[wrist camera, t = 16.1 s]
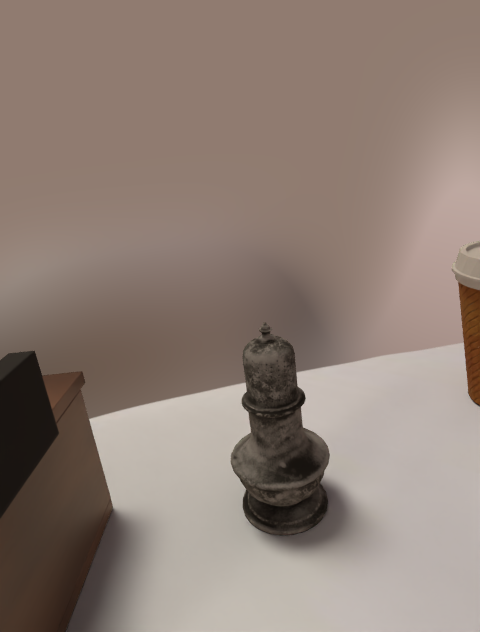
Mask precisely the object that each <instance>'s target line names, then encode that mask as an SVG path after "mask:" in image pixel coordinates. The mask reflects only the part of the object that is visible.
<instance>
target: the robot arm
mask: <svg viewBox="0 0 480 632" xmlns="http://www.w3.org/2000/svg"><path fill="white" fill-rule="evenodd" d="M58 435H59V431H58V427H57V424H56V421H55V417H54V414H53V411H52V407H51V404H50V401H49V397H48V394H47V391H46V387H45V384H44V380H43V377H42V374H41V371H40V367H39V364H38V360H37V357H36V354H35V351H29V352H19V353H10V354H7V355H6V356H5V357H4V358H2V359H1V360H0V519H1V517H2V516H3V514H4V513H5V511H6V510H7V508H8V507H9V506H10V504H11V503H12V501H13V500H14V498H15V497H16V495H17V494H18V492H19V491H20V490H21V488H22V487H23V485H24V484H25V482H26V481H27V479H28V478H29V477H30V475H31V474H32V472H33V471H34V469H35V468H36V466H37V465H38V464H39V462H40V461H41V459H42V458H43V456H44V455H45V453H46V452H47V451H48V449H49V448H50V446H51V445H52V443H53V442H54V440H55V439H56V438H57V436H58Z"/></svg>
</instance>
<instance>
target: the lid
mask: <svg viewBox="0 0 480 632" xmlns="http://www.w3.org/2000/svg"><path fill="white" fill-rule="evenodd" d="M42 377H43V380H44V384H45V387H46V391H47V394H48V397H49V401H50V404H51V407H52V411H53V414H54V417H55V421H56V422H57V421H58V419H59V418H60V417H61V415H62V414H63V412H64V411H65V410H66V408H67V407H68V406H69V404H70V403H71V402H72V400H73V399H74V397H75V396H76V395H77V393H78V392H79V391H80V389H81V388H82V386H83V385H84V383H85V380H84V376H83V373H82V372H71V373H62V374H53V375H44V376H42Z"/></svg>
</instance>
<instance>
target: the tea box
mask: <svg viewBox="0 0 480 632" xmlns="http://www.w3.org/2000/svg"><path fill="white" fill-rule="evenodd" d="M56 424H57V427H58V431H59V435H58V436H57V438H56V439H55V440H54V442H53V443H52V445H51V446H50V448H49V449H48V451H47V452H46V453H45V455H44V456H43V458H42V459H41V461H40V462H39V464H38V465H37V466H36V468H35V469H34V471H33V472H32V474H31V475H30V477H29V478H28V479H27V481H26V482H25V484H24V485H23V487H22V488H21V490H20V491H19V492H18V494H17V495H16V497H15V498H14V500H13V501H12V503H11V504H10V506H9V507H8V508H7V510H6V511H5V513H4V514H3V516H2V517H1V519H0V632H65V631H66V628H67V626H68V623H69V620H70V618H71V615H72V613H73V610H74V607H75V605H76V602H77V600H78V597H79V594H80V592H81V589H82V587H83V584H84V581H85V579H86V576H87V574H88V571H89V568H90V566H91V563H92V561H93V558H94V555H95V553H96V550H97V548H98V545H99V542H100V540H101V537H102V535H103V532H104V529H105V527H106V524H107V522H108V519H109V516H110V514H111V511H112V509H113V505H112V501H111V497H110V493H109V490H108V486H107V483H106V479H105V475H104V472H103V468H102V465H101V461H100V457H99V454H98V450H97V447H96V443H95V439H94V436H93V432H92V429H91V425H90V421H89V418H88V414H87V411H86V407H85V403H84V400H83V396H82V393H81V390H80V391H79V392H78V393H77V395H76V396H75V397H74V399H73V400H72V402H71V403H70V404H69V406H68V407H67V408H66V410H65V411H64V412H63V414H62V415H61V417H60V418H59V419H58V421H57V422H56Z"/></svg>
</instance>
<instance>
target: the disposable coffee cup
mask: <svg viewBox="0 0 480 632" xmlns="http://www.w3.org/2000/svg"><path fill="white" fill-rule="evenodd" d="M452 271H453V272H454V274H455V277H456V280H457V281H458V284H459V294H460V296H459V297H460V303H461V304H460V305H461V315H462V328H463V337H464V349H465V358H466V370H467V380H468V393H469V396H470V397H471V399H472V400H473V401H474V402H476V403H477V404H479V405H480V241H477V242H473V243H469V244H467V245H464V246H463V247H462V248H460V250H459V254H458V257H457V261H456V262H454V263H453V265H452Z"/></svg>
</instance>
